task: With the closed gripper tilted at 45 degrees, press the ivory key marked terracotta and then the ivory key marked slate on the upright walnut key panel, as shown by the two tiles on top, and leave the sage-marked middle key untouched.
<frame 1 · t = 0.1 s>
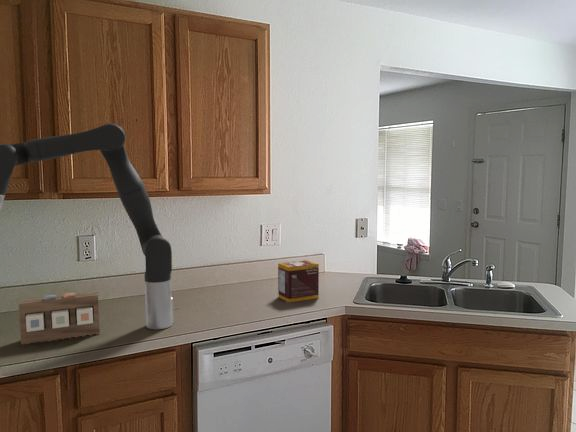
supplement box: (298, 298, 207), on the worktop
terracotta key: (84, 315, 159), point 7 cm above the worktop, slide at 0.0 cm
slate key: (35, 321, 153), point 7 cm above the worktop, slide at 0.0 cm
keypad panel: (62, 337, 160), on the worktop
sage key: (60, 318, 156), point 7 cm above the worktop, slide at 0.0 cm
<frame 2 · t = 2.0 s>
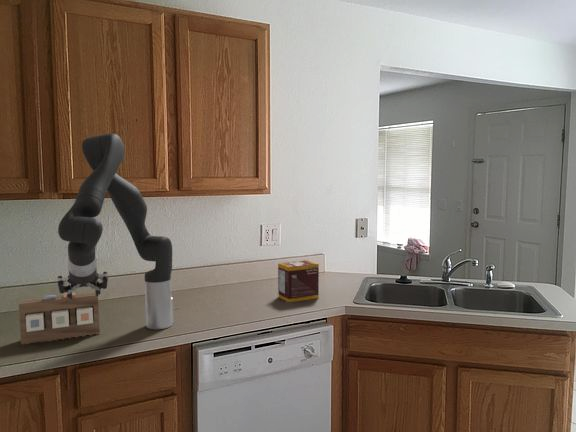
hand: (83, 295, 145), 18 cm above the worktop, tool tilted 45°, fingers open, 7 cm apart
nothing on the worktop moved.
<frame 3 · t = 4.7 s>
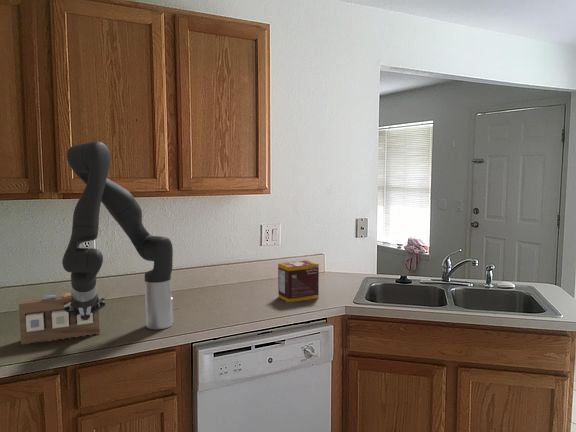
hand: (85, 317, 157), 7 cm above the worktop, tool tilted 45°, fingers closed
terracotta key: (84, 315, 160), point 7 cm above the worktop, slide at 0.2 cm, touching gripper
everything else where it was.
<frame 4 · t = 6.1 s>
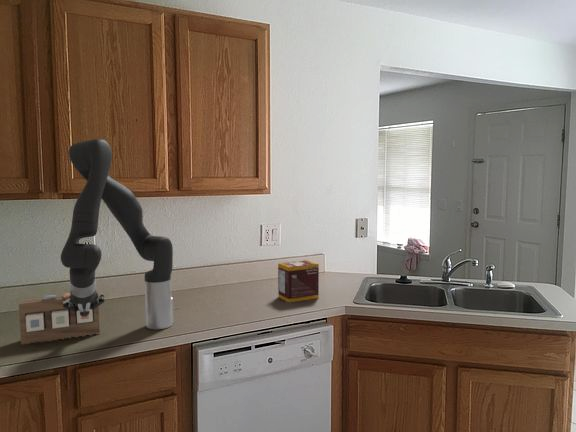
hand: (84, 314, 157), 9 cm above the worktop, tool tilted 45°, fingers closed
terracotta key: (84, 313, 161), point 7 cm above the worktop, slide at 2.1 cm
everything else where it was.
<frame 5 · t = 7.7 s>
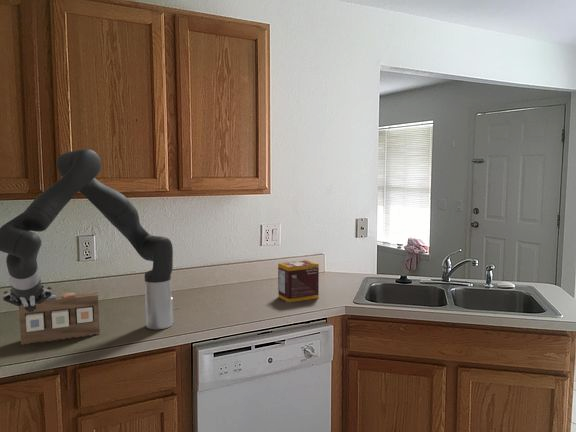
hand: (30, 309, 142), 15 cm above the worktop, tool tilted 45°, fingers closed
nothing on the worktop moved.
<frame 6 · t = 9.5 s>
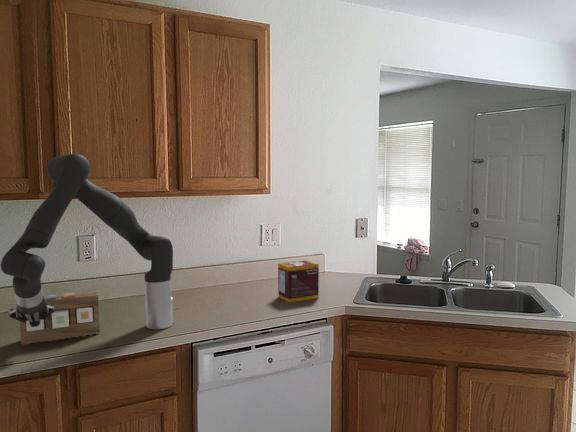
hand: (35, 324, 151), 7 cm above the worktop, tool tilted 45°, fingers closed
slate key: (35, 321, 154), point 7 cm above the worktop, slide at 0.4 cm, touching gripper
everything else where it was.
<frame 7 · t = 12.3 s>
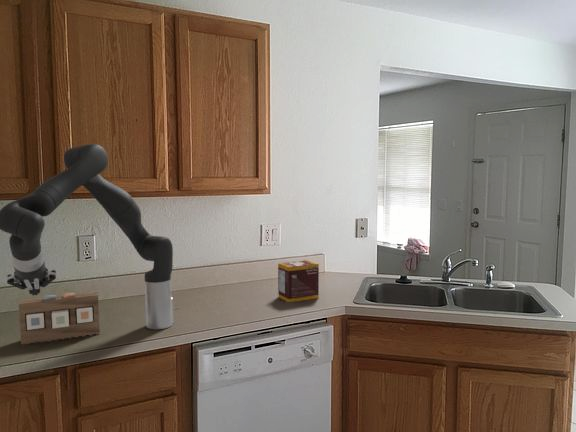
hand: (35, 292, 140), 20 cm above the worktop, tool tilted 45°, fingers closed
slate key: (35, 319, 155), point 7 cm above the worktop, slide at 2.1 cm
everything else where it was.
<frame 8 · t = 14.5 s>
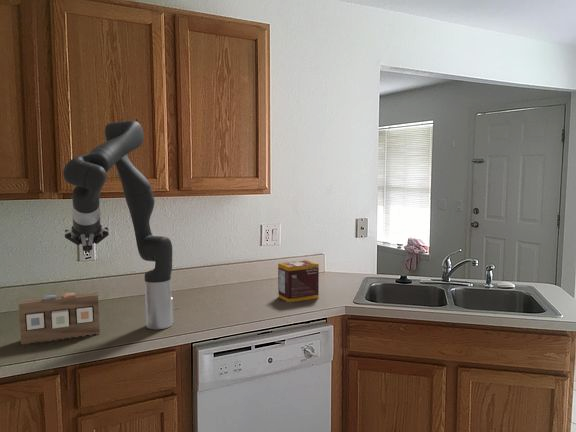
hand: (87, 249, 148), 32 cm above the worktop, tool tilted 45°, fingers closed
nothing on the worktop moved.
at the end: terracotta key slide at 2.1 cm; slate key slide at 2.1 cm; sage key slide at 0.0 cm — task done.
